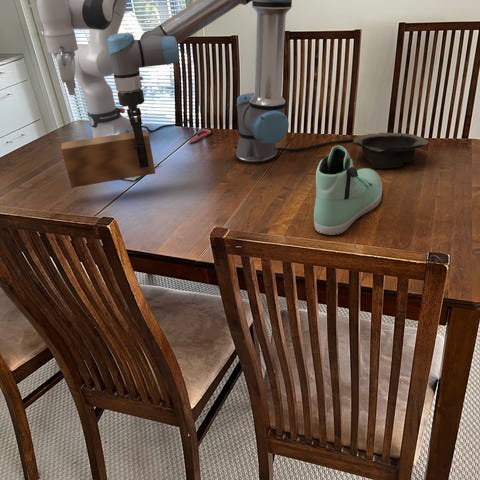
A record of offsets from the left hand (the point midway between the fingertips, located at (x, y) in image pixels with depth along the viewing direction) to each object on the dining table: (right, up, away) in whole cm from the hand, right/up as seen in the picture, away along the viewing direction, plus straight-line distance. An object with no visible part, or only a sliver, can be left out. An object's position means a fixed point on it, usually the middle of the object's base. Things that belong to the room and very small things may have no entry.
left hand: (72, 91), depth 152 cm
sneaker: (+85, -38, -13) cm, 94 cm away
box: (+13, -27, +1) cm, 30 cm away
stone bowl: (+105, -19, +15) cm, 108 cm away
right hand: (+22, -22, +2) cm, 32 cm away
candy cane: (+36, -5, +48) cm, 60 cm away
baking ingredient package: (+16, -23, +21) cm, 35 cm away
